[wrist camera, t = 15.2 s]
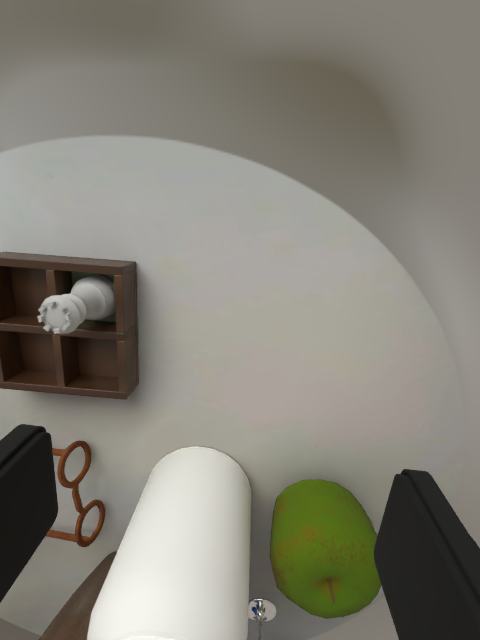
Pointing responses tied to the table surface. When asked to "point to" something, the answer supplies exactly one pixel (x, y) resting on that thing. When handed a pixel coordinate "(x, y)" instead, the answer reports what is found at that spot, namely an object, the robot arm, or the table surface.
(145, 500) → the can
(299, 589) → the apple
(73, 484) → the glasses
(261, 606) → the wineglass
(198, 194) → the table surface
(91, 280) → the rook chess piece
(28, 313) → the rack
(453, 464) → the table surface
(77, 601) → the plant pot
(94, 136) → the table surface
